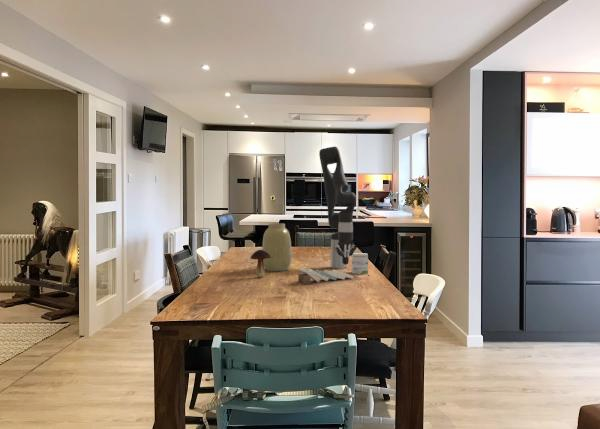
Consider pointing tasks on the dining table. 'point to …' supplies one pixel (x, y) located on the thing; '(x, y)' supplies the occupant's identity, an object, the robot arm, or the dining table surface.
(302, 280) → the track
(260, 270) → the decorative mushroom
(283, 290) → the dining table surface
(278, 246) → the vase
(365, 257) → the ink box
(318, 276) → the domino
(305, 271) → the domino
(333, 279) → the domino
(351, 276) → the domino
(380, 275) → the dining table surface
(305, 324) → the dining table surface
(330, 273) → the domino
